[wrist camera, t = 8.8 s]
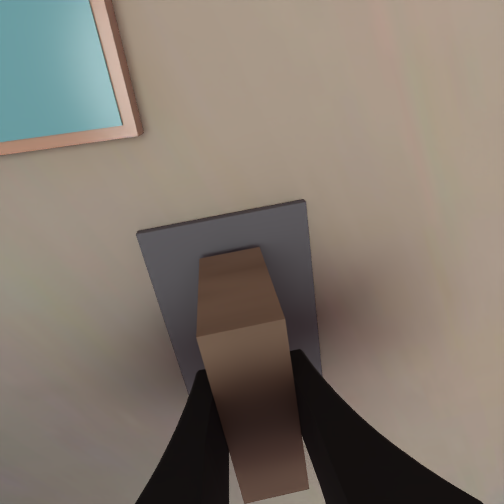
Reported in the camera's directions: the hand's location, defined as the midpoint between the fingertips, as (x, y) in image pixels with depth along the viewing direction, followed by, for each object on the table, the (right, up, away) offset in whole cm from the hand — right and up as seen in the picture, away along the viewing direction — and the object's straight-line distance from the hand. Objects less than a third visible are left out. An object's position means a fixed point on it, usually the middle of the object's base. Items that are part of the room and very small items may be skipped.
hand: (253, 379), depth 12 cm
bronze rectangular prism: (0, +1, +3) cm, 3 cm away
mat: (-1, +2, +4) cm, 4 cm away
